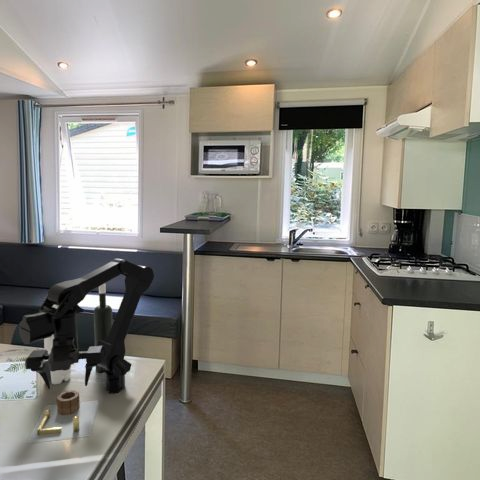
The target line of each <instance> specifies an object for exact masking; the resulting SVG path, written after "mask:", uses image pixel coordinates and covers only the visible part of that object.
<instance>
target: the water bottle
mask: <svg viewBox="0 0 480 480" xmlns="http://www.w3.org/2000/svg"><path fill="white" fill-rule="evenodd" d="M52 307H53V308H56V309H57V308H58V306H56V305H53V306H52ZM53 339H54V336H53V335H52V336H51V337H49V338H45V339H43V343H44V344H43V347H44V349H43V350H47V351H48V354H50V353H51V349H52V346H53ZM71 371H72V369H71V367H70V369H68V370H65V371H64V370H57V371H50V372H51V385H60V384H62V382H68V380H70V378H71V373H72V372H71Z"/></svg>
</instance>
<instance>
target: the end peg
mask: <svg viewBox="0 0 480 480" xmlns="http://www.w3.org/2000/svg"><path fill="white" fill-rule="evenodd" d="M78 431H79V416H74V417H73V432H78Z"/></svg>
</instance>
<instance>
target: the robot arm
mask: <svg viewBox="0 0 480 480" xmlns="http://www.w3.org/2000/svg"><path fill="white" fill-rule="evenodd" d="M120 275H121V276H124V277H125V278H124V286H125V288H124V289H125V292H124V295H123V297H122V299H121V302H120V304H119V308H118V309H117V312H116V315H115V318H114V320H113V325H112V328H111V330H110V333H109V335H108V337H107V338H106V339H105V340H104V341H101V340H99V341H98V344H97V346H95V345H94V346H89V347H88V349H87V351H86V350H84V351H80V350H79V344H78V343H79V342H78V335H79V334H78V333H79V332H78V325H77V324H78V323H77V322H78V321H77V320H78V319H77V314H80V313H83V312H85V309H84V308H83V307H81V306H79V304H80V303H81V302H82V301H84V299H85V298H86V296H87V295H88V294H89V293H91V291H94V290H95V289H97V288H99V286H101V285H103V284H104V283H108V282H109V281H112V280H114V279H115V278H117V277H119V276H120ZM154 278H155V272H154V270H153V269H152V267H150V266H145V265H140V264H139V265H138V264H135V263H132V262H131V261H128V260H127V259H121V258H117V257H116V258H114V259H112V260H111V261H110V262H108V263H106V264H104V265H102V266H100V267H98V268H96V269H95V270H92V271H91V272H89V273H86V274H85V275H83V276H81V277H79V278H75V279H70V280H69V279H68V280H65V281H62V282H59V283H55V284H53V285H52V286H51V287H50V288H49V289H48V292H47V296H46V298H45V299H44V301H43V303H42V304H41V306H40V307H39V309H38V311H39V312H37V313H33V314H25V315H23V316H22V321H20V324H19V327H18V332H19V333H18V334H19V336H20V339H21V341H22V342H23V344H25V345H29V344H32V343H35V342H38V341H43V340H44V339H45V338H49V337H51V336H52V335H53V336H54V339H53V346H52V349H51V353H50V354H48V351H47V350H44V349H38V350H32V351H31V352H30V353H29V355H28V356H27V357H26V359H25V361H24V368H25V370H31V372H36V373H37V374H39V375H40V377H41V378H42V380H43V382H44V384H45V386H46V387H47V389H48V390H51V389H52V383H51V372H50V371H57V370H64V371H65V370H68V369H70V368H71V367H72V365H74V364H78V363H79V361H80V360H85V362H86V363H85V366H84V367H85V375H84V386H85V387H87V386H88V384H89V380H90V377H91V373H92V371H93V368H94V367H96V366H97V365H98V366H99V367H100V369H103V370H105V373H104V380H105V382H104V385H105V386H104V388H105V390H106V392H108V394H119V393H120V392H121V391H122V390H124V389H125V387H126V374H127V373H129V372H130V371H131V367H132V363H130V362H129V361H128V360H126V359H125V355H126V343H125V342H126V341H125V340H126V338H127V335H128V332H129V330H130V327H131V325H132V322H133V319H134V316H135V313H136V311H137V308H138V305H139V302H140V300H141V297H142V295H143V294H145V293H146V292H147V291H148V290H149V288H150V287H151V284H152V283H153V281H154ZM53 305H56V306H58V308H57V309H56V308H53V307H52V306H53Z"/></svg>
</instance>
